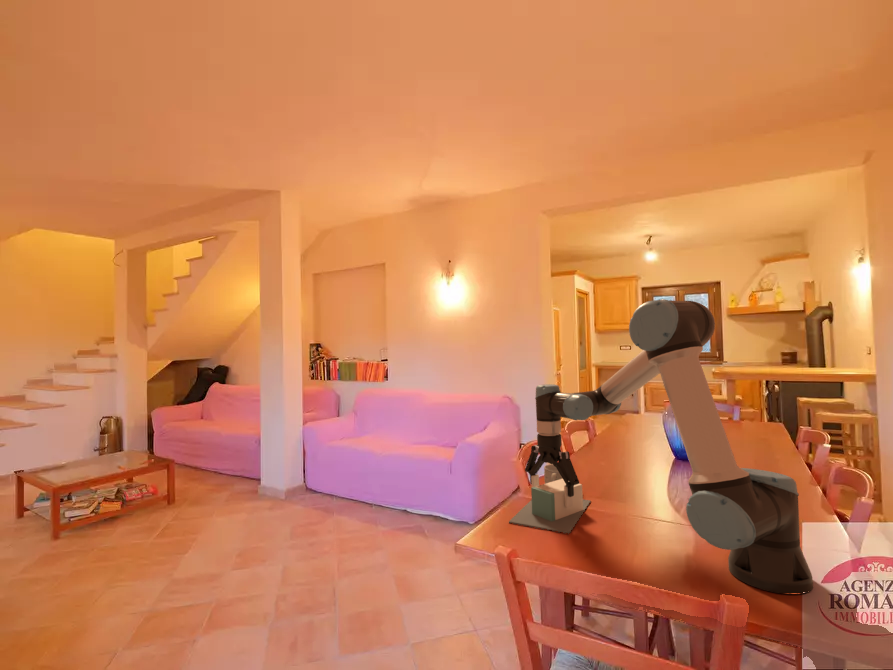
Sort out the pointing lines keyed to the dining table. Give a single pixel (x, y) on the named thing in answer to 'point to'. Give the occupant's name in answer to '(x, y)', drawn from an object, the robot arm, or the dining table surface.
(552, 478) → the teacup
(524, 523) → the rubber mat
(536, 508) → the green and white block
